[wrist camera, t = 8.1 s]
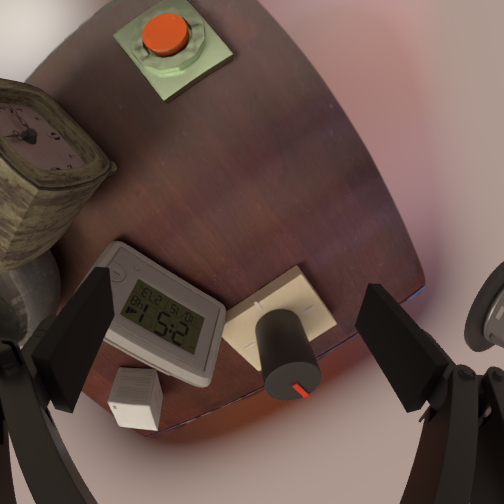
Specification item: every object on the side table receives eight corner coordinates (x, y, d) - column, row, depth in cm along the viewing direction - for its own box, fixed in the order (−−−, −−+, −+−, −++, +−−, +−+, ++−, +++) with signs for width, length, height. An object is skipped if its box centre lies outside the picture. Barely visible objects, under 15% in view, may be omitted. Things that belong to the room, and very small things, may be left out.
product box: (127, 392, 40) (118, 426, 34) (118, 365, 38) (105, 401, 31) (163, 395, 41) (158, 431, 34) (157, 368, 39) (149, 406, 32)
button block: (233, 59, 25) (234, 49, 22) (167, 103, 26) (159, 99, 23) (180, -2, 22) (175, -18, 18) (118, 40, 23) (106, 30, 19)
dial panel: (294, 261, 34) (300, 271, 32) (332, 315, 38) (338, 326, 35) (213, 316, 36) (212, 329, 34) (258, 360, 40) (260, 373, 37)
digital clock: (234, 309, 36) (239, 370, 26) (185, 347, 38) (177, 408, 28) (133, 216, 30) (97, 253, 21) (90, 267, 32) (50, 315, 22)
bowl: (96, 270, 32) (62, 316, 23) (45, 327, 35) (16, 370, 26) (23, 183, 27) (-29, 204, 18) (-16, 255, 30) (-56, 286, 20)
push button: (197, 39, 21) (195, 32, 19) (160, 63, 22) (156, 59, 20) (174, 12, 20) (171, 5, 18) (138, 36, 20) (133, 30, 19)
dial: (245, 326, 34) (253, 383, 25) (285, 300, 33) (305, 354, 25) (271, 353, 36) (284, 409, 27) (309, 330, 35) (331, 384, 27)
